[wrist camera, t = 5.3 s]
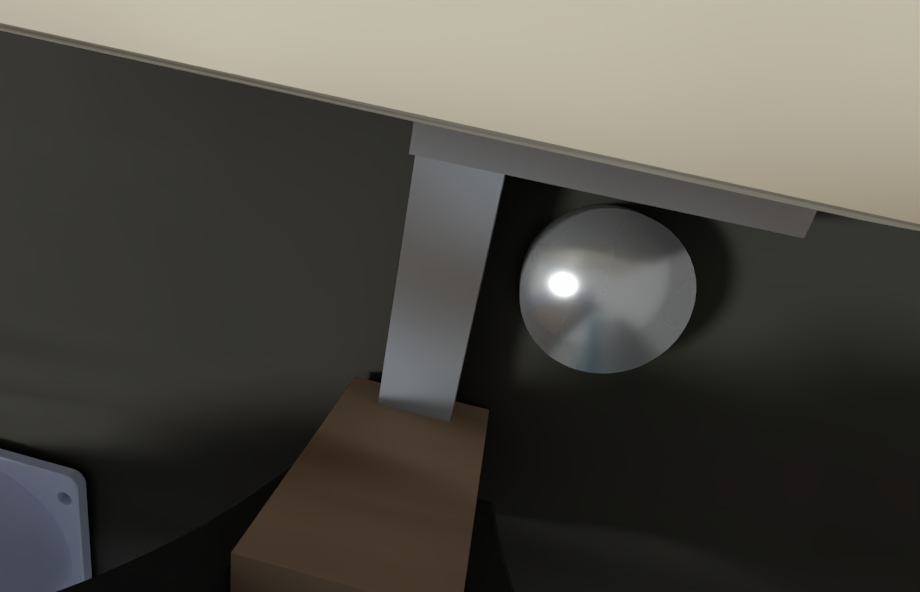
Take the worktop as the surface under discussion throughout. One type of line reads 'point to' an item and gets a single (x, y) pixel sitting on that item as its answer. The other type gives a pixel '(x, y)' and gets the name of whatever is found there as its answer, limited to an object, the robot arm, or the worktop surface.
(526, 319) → the steel ball
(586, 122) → the cabinet
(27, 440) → the worktop surface
